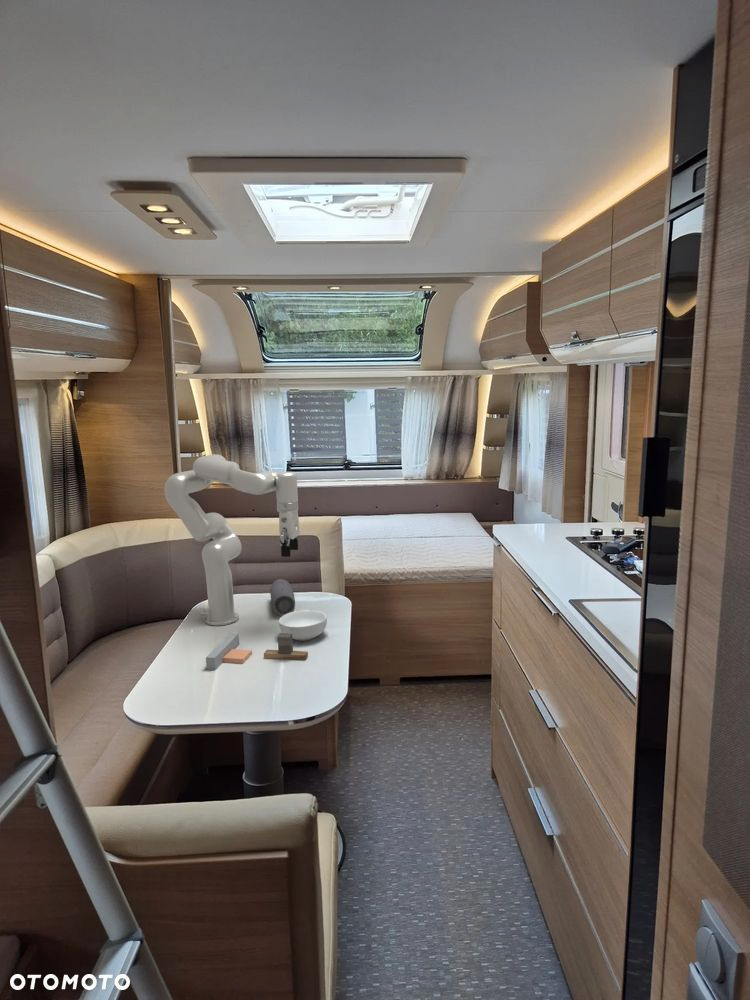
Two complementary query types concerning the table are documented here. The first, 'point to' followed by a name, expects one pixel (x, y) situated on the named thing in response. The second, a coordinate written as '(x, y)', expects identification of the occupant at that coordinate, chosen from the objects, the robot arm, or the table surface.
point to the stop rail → (222, 651)
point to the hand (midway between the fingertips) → (290, 553)
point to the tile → (237, 656)
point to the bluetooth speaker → (282, 597)
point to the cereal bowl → (303, 624)
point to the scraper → (285, 649)
